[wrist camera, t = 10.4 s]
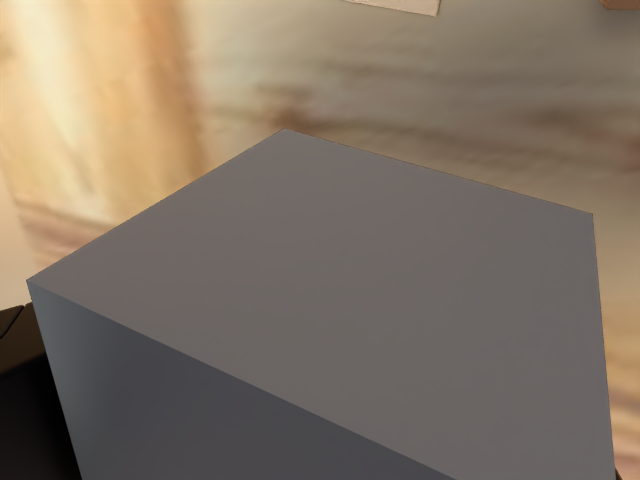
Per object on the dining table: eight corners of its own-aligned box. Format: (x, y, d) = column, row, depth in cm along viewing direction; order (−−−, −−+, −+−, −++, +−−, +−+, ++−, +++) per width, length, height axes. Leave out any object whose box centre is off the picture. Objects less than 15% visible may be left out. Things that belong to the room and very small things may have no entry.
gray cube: (487, 429, 10) (428, 756, 6) (268, 336, 11) (100, 544, 7) (592, 214, 7) (622, 556, 3) (283, 128, 8) (26, 279, 4)
